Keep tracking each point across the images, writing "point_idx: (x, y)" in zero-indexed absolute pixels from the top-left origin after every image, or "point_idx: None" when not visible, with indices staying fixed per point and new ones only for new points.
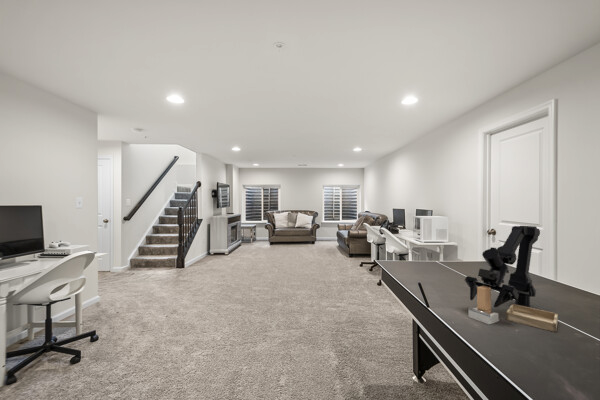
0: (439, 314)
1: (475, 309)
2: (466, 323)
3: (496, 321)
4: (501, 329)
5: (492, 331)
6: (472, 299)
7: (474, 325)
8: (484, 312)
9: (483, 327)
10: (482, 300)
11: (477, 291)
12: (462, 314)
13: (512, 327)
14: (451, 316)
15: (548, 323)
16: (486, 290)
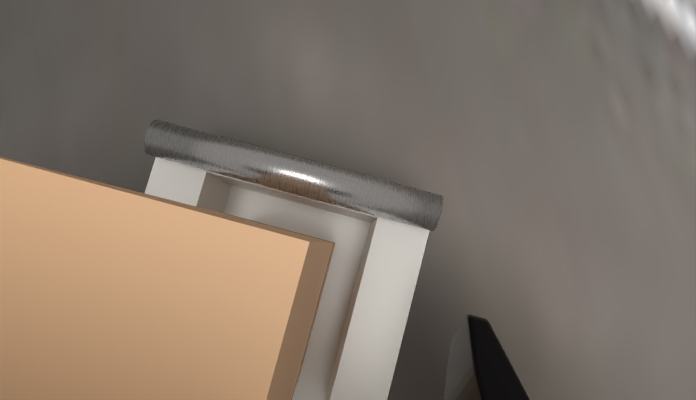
0: (677, 71)
1: (344, 181)
2: (389, 35)
3: None
4: (93, 148)
5: (152, 23)
6: (449, 363)
7: (316, 44)
8: (217, 145)
9: (238, 60)
10: (216, 212)
11: (313, 240)
12: (502, 281)
13: None
14: (565, 114)
15: None
16: None
